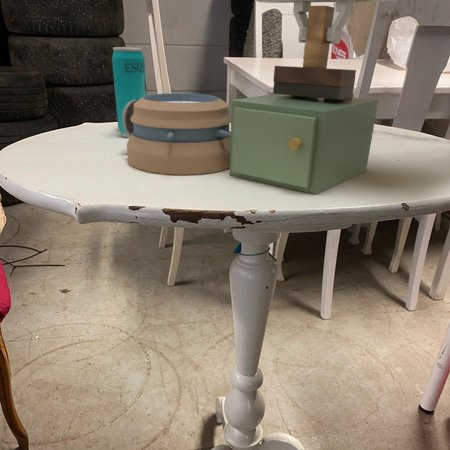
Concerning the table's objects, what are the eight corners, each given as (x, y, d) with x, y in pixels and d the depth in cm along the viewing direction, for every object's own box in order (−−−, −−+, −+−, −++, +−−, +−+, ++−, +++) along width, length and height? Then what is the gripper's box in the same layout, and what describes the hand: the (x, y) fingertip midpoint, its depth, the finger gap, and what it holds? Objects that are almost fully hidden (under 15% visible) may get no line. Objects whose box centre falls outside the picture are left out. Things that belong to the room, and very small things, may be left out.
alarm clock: (137, 107, 60) (106, 88, 78) (142, 179, 64) (112, 145, 83) (258, 103, 65) (202, 86, 84) (254, 170, 70) (202, 140, 88)
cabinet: (366, 170, 71) (378, 99, 66) (309, 197, 59) (319, 113, 54) (287, 156, 78) (292, 91, 73) (222, 177, 66) (223, 101, 61)
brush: (351, 98, 63) (366, 7, 59) (337, 99, 60) (351, 3, 55) (288, 93, 69) (296, 9, 64) (272, 93, 65) (279, 5, 61)
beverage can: (153, 137, 90) (149, 48, 82) (125, 139, 87) (118, 48, 80) (141, 131, 94) (136, 47, 86) (114, 134, 91) (106, 47, 84)
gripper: (431, -97, 52) (404, 46, 58) (275, -78, 62) (268, 40, 69) (412, -110, 47) (385, 46, 54) (247, -87, 58) (243, 40, 65)
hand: (318, 43), depth 62 cm, fingers closed on brush, 2 cm apart
